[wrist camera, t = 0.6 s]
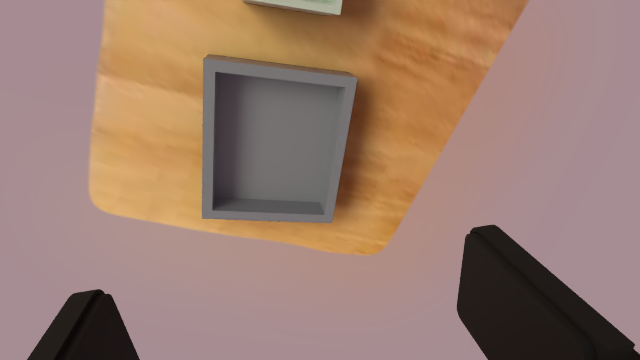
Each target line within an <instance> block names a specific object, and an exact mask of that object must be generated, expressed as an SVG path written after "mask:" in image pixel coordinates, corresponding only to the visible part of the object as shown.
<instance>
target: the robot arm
mask: <svg viewBox="0 0 640 360" xmlns="http://www.w3.org/2000/svg"><path fill="white" fill-rule="evenodd" d="M457 311H458V315H459V317H460V319H461V321H462V322H463V324H464V325H465V327H466V328H467V330H468V331H469V332H470V334H471V335H472V337H473V338H474V340H475V341H476V342H477V344H478V346H479V347H480V349H481V350H482V351H483V353H484V354H485V356H486V357H487V359H488V360H640V354H638V352H636V351H635V350H634V349H633V348H634V346H635V344H634V343H633V342H632V341H630V340H629V339H628V338H627V337H626V336H625V335H624V334H622V333H621V332H620V331H619V330H618V329H617V328H615V327H614V326H613V325H612V324H611V323H609V322H608V321H607V320H606V319H605V318H604V317H603V316H601V315H600V314H599V313H598V312H597V311H596V310H594V309H593V308H592V307H591V306H590V305H588V304H587V303H586V302H585V301H584V300H583V299H582V298H580V297H579V296H578V295H577V294H576V293H574V292H573V291H572V290H571V289H570V288H569V287H568V286H566V285H565V284H564V283H563V282H562V281H560V280H559V279H558V278H557V277H556V276H555V275H554V274H552V273H551V272H550V271H549V270H548V269H547V268H545V267H544V266H543V265H542V264H541V263H540V262H538V261H537V260H536V259H535V258H534V257H532V256H531V255H530V254H529V253H528V252H527V251H525V250H524V249H523V248H522V247H521V246H520V245H519V244H517V243H516V242H515V241H514V240H513V239H511V238H510V237H509V236H508V235H507V234H506V233H505V232H503V231H502V230H501V229H500V228H499V227H497V226H495V225H487V226H481V227H475V228H473V229H472V230H471V231H470V234H467V236H466V238H465V245H464V253H463V260H462V268H461V277H460V285H459V292H458V302H457ZM27 360H140V359H139V357H138V355H137V352H136V350H135V348H134V346H133V343H132V341H131V339H130V337H129V334H128V332H127V330H126V327H125V325H124V323H123V320H122V318H121V316H120V313H119V311H118V309H117V306H116V304H115V302H114V300H113V298H112V296H111V295H110V294H105V293H104V292H103V291H102V290H100V289H99V290H98V289H97V290H91V291H85V292H79V293H74V294H72V295H71V296H70V297H69V298H68V300H67V301H66V303H65V304H64V306H63V307H62V309H61V310H60V312H59V313H58V315H57V316H56V317H55V319H54V320H53V322H52V323H51V325H50V326H49V328H48V330H47V331H46V333H45V334H44V335H43V337H42V338H41V340H40V341H39V343H38V344H37V346H36V347H35V349H34V350H33V352H32V353H31V355H30V356H29V358H28V359H27Z"/></svg>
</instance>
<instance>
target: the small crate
mask: <svg viewBox="0 0 640 360" xmlns="http://www.w3.org/2000/svg"><path fill="white" fill-rule="evenodd" d="M242 1H243V2H245V3H251V4H257V5H263V6H269V7H276V8H282V9H288V10H294V11H300V12H306V13H313V14H319V15H325V16H332V15H340V13H341V6H342V0H242Z"/></svg>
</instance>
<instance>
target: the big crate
mask: <svg viewBox="0 0 640 360" xmlns="http://www.w3.org/2000/svg"><path fill="white" fill-rule="evenodd" d="M357 79H358V78H357V77H355V76H353V75H352V74H350V73H348V72H341V71H334V70H326V69H318V68H311V67H303V66H295V65H287V64H280V63H272V62H264V61H256V60H249V59H241V58H233V57H226V56H218V55H210V54H209V55H207V56H206V57H205V58H203V168H202V219H229V220H257V221H285V222H313V223H332V220H333V214H334V209H335V203H336V197H337V192H338V186H339V180H340V175H341V169H342V163H343V158H344V152H345V146H346V141H347V135H348V129H349V124H350V118H351V112H352V107H353V101H354V95H355V90H356V84H357Z"/></svg>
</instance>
